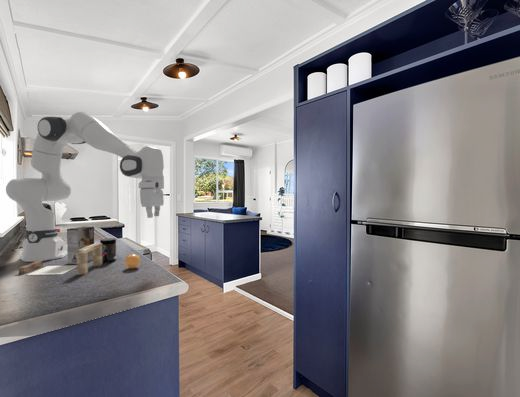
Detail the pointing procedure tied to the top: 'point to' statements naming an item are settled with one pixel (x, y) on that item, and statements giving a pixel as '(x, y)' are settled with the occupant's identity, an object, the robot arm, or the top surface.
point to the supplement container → (108, 249)
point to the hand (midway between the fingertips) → (153, 217)
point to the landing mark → (53, 270)
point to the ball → (132, 261)
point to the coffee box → (79, 242)
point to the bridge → (83, 257)
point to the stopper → (30, 267)
